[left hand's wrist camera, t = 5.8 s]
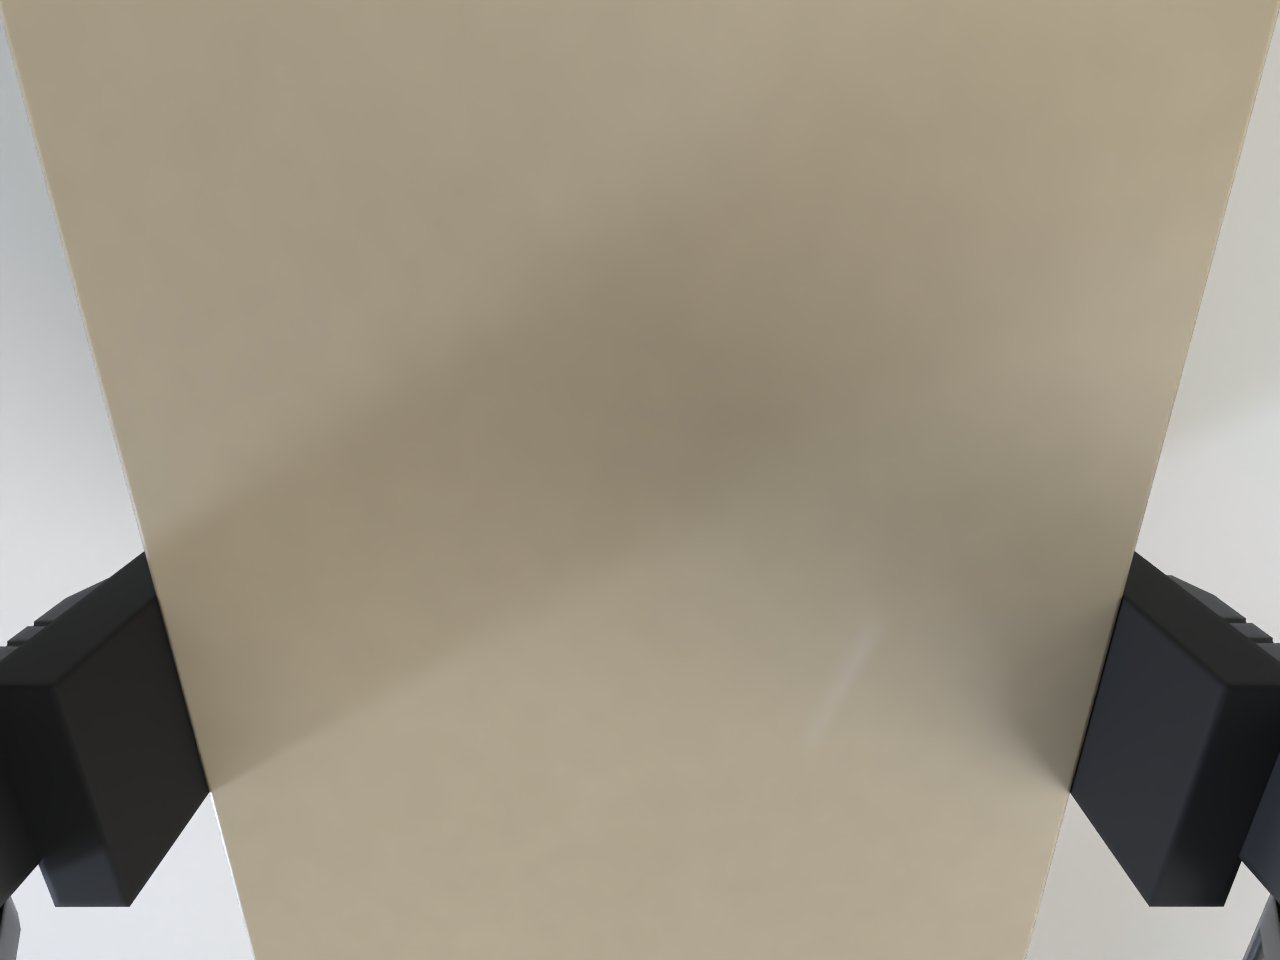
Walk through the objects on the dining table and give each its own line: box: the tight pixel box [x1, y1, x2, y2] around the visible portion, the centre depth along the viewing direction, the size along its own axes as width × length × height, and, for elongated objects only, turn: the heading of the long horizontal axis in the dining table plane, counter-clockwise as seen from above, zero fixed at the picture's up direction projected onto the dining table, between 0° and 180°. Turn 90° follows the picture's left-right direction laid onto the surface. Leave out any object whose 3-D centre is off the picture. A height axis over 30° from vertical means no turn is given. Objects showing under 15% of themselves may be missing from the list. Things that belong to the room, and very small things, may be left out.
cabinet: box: [0, 0, 1280, 960], centre depth 11 cm, size 18×10×9 cm, turn 0°
